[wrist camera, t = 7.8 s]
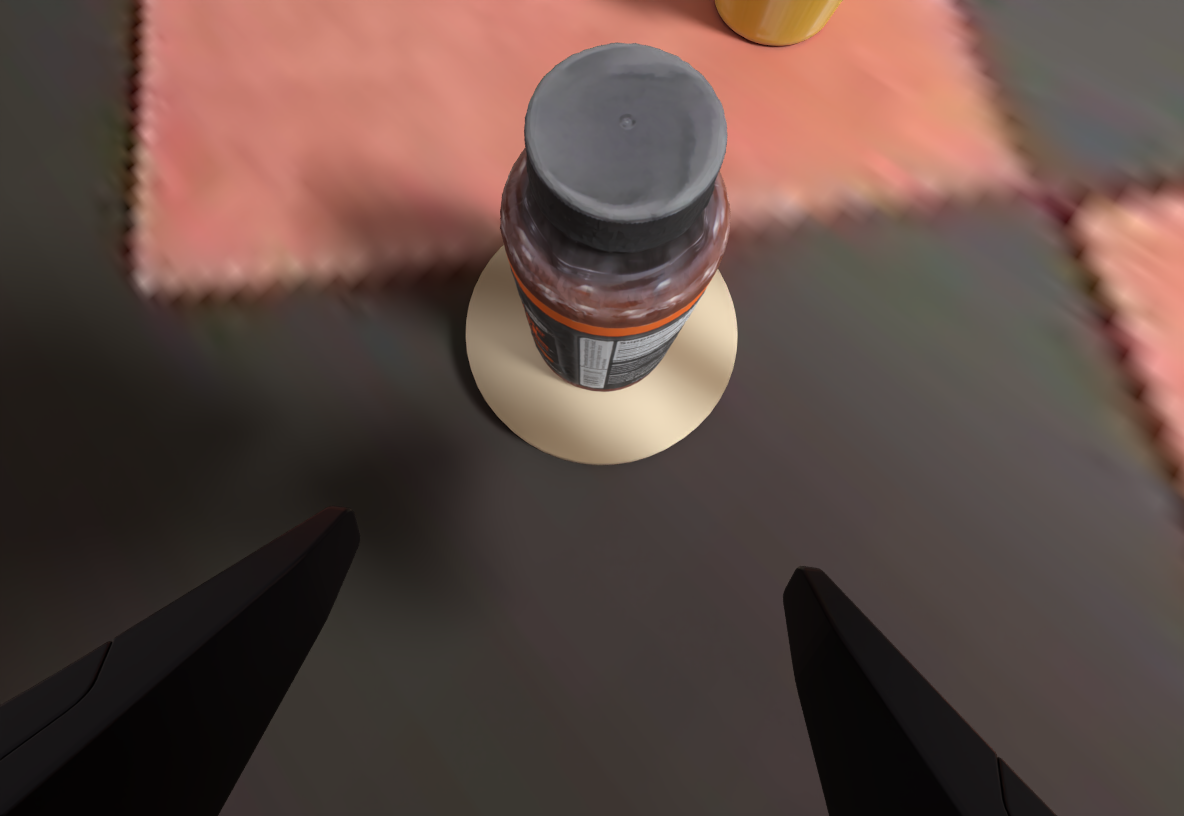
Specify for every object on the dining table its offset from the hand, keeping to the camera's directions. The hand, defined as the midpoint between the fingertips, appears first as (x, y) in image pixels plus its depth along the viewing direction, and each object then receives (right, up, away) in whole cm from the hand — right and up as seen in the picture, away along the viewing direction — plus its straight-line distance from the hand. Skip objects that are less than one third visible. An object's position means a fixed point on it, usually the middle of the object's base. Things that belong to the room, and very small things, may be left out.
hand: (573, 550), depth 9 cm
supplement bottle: (+1, +6, +11) cm, 13 cm away
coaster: (+1, +6, +12) cm, 13 cm away
